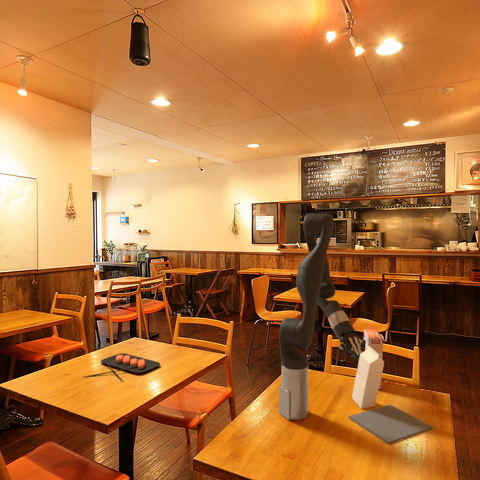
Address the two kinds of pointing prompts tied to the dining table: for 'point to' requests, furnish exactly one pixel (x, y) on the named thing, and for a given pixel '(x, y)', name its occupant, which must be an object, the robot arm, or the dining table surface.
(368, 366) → the milk
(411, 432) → the mat
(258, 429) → the dining table surface
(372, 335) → the cracker box
